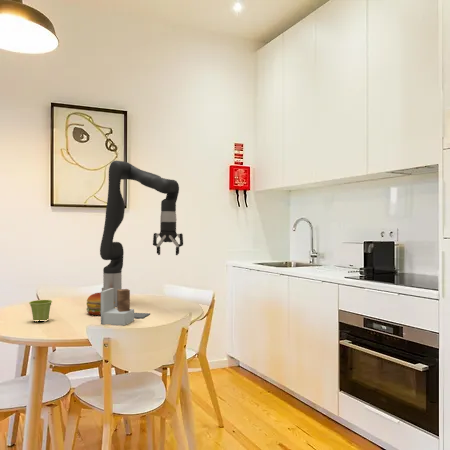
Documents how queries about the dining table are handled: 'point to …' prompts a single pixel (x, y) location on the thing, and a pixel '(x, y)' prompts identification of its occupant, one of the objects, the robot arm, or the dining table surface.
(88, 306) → the burger
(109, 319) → the ledge
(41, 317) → the plant pot
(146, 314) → the mat
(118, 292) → the walnut block
